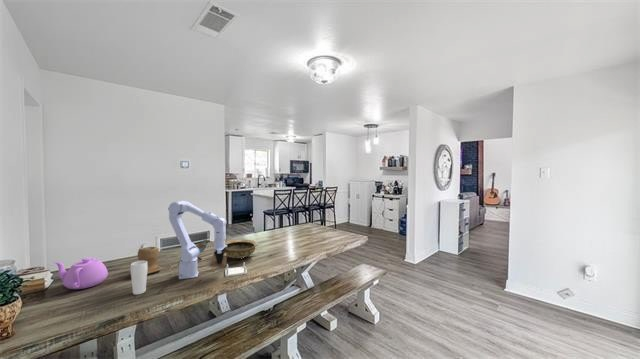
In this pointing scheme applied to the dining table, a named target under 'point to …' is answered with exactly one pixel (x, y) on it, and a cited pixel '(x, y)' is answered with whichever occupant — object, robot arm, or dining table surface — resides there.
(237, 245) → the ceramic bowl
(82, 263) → the teapot
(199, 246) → the bird figurine
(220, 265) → the walnut block
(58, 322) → the dining table surface
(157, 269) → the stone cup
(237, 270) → the standoff plate
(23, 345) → the dining table surface
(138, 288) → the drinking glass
